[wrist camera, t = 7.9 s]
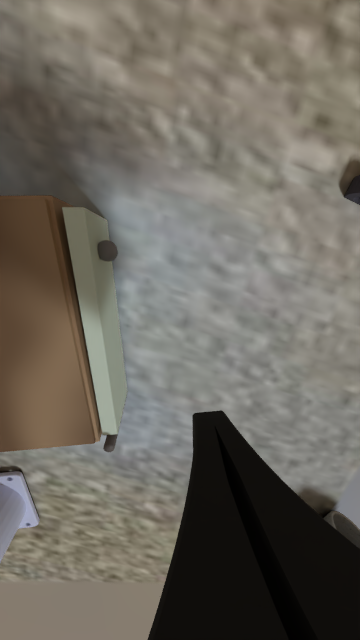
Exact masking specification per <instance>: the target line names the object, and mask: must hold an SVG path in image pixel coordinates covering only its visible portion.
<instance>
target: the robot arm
mask: <svg viewBox="0 0 360 640" xmlns="http://www.w3.org/2000/svg"><path fill="white" fill-rule="evenodd" d="M38 523H39V517H38V514H37V512H36V509H35V506H34V504H33V501H32V498H31V495H30V493H29V490H28V487H27V485H26V482H25V479H24V477H23V474H22V473H21V472H19V471H15V472H5V473H0V562H1V560H2V558H3V556H4V554H5V552H6V550H7V549H8V547H9V545H10V543H11V541H12V539H13V537H14V535H15V533H16V531H17V529H18V528H26V527H34V526H37V525H38ZM148 640H360V549H359V548H358V547H357V546H356V545H355V544H353V543H352V542H351V541H350V540H348V539H347V538H346V537H345V536H344V535H342V534H341V533H340V532H339V531H338V530H336V529H335V528H334V527H333V526H332V525H330V524H329V523H328V522H327V521H326V520H324V519H323V518H322V517H321V516H320V515H319V514H318V513H317V512H315V511H314V510H313V509H312V508H311V507H310V506H309V505H308V504H307V503H305V502H304V501H303V500H302V499H301V498H300V497H299V496H298V495H297V494H296V493H295V492H294V491H293V490H292V489H291V488H290V487H289V486H288V485H286V484H285V483H284V482H283V481H282V480H281V479H280V477H279V476H278V475H277V474H276V473H275V472H274V471H273V470H272V469H271V468H270V467H269V466H268V465H267V464H266V463H265V462H264V461H263V460H262V458H261V457H260V456H259V455H258V454H257V453H256V452H255V450H254V449H253V448H252V447H251V446H250V445H249V444H248V442H247V441H246V440H245V439H244V438H243V436H242V435H241V434H240V433H239V431H238V430H237V429H236V428H235V426H234V425H233V424H232V422H231V421H230V420H229V418H228V417H227V416H226V414H225V413H224V412H223V411H212V412H201V413H195V414H194V415H193V461H192V468H191V474H190V481H189V487H188V492H187V497H186V502H185V507H184V512H183V516H182V520H181V525H180V529H179V533H178V537H177V541H176V545H175V549H174V553H173V556H172V560H171V564H170V567H169V571H168V574H167V578H166V581H165V585H164V588H163V592H162V595H161V599H160V602H159V605H158V609H157V612H156V615H155V619H154V622H153V625H152V628H151V631H150V634H149V637H148Z"/></svg>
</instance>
